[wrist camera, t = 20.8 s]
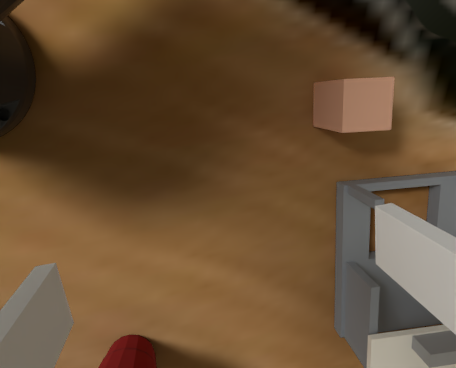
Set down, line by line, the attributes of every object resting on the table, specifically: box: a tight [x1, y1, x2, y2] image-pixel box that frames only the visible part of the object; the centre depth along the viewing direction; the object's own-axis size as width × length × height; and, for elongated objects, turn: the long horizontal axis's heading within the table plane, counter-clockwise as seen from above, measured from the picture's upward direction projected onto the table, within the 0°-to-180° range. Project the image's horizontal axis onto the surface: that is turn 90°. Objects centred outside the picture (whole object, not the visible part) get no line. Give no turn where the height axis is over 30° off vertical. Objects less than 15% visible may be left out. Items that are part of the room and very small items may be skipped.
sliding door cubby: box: [334, 171, 456, 368], centre depth 43 cm, size 21×16×8 cm
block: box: [313, 77, 395, 133], centre depth 37 cm, size 5×5×8 cm
